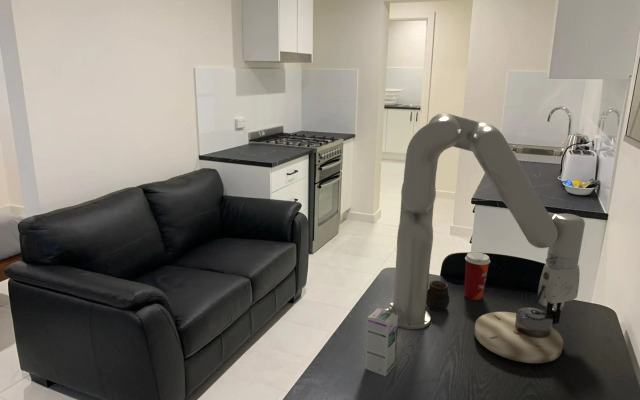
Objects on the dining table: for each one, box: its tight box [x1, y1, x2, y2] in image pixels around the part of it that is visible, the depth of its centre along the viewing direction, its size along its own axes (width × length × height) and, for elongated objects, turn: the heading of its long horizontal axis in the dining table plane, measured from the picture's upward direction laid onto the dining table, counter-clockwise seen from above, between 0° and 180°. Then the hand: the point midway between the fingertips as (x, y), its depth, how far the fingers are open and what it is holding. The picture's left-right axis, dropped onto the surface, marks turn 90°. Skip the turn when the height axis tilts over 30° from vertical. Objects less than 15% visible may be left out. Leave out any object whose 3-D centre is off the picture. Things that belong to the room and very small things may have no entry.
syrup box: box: [364, 307, 398, 377], centre depth 117 cm, size 6×6×14 cm
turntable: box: [474, 311, 564, 364], centre depth 129 cm, size 22×22×2 cm
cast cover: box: [515, 307, 553, 338], centre depth 130 cm, size 9×9×5 cm
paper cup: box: [464, 251, 491, 301], centre depth 155 cm, size 8×8×14 cm
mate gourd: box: [426, 279, 450, 312], centre depth 147 cm, size 7×8×10 cm
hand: (551, 321), depth 133 cm, fingers closed
